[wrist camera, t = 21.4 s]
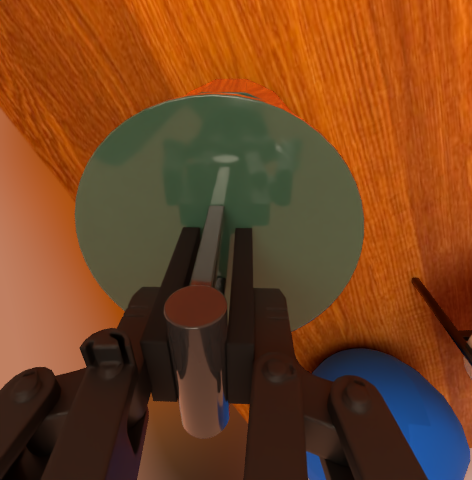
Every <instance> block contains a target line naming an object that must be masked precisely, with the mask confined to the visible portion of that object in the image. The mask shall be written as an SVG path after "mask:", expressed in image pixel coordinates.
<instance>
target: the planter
mask: <svg viewBox="0 0 472 480" xmlns="http://www.w3.org/2000/svg"><path fill="white" fill-rule="evenodd" d="M412 283H413V285H414V286H415V288H416V289H417V290H418V292H419V293H420V295H421V296H422V297H423V299H424V300H425V302H426V303H427V304H428V306H429V307H430V309H431V310H432V311H433V313H434V314H435V316H436V317H437V318H438V320H439V321H440V323H441V324H442V325H443V327H444V328H445V330H446V331H447V332H448V334H449V335H450V337H451V338H452V340H453V341H454V342H455V344H456V345H457V347H458V348H459V349H460V351H461V352H462V354H463V355H464V359H463V360H464V366H465V369H466V371H467V373H468V375H469V376H470V378H471V379H472V330H465V331H458V330H457V329H456V327H455V326H454V325H453V323H452V322H451V321H450V319H449V318H448V317H447V315H446V314H445V313H444V311H443V310H442V309H441V307H440V306H439V305H438V303H437V302H436V301H435V299H434V298H433V297H432V295H431V294H430V293H429V291H428V290H427V289H426V287H425V286H424V285H423V284H422V282H421V281H420V280H419V278H413V279H412ZM466 341H468V342H466Z"/></svg>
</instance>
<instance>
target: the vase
mask: <svg viewBox="0 0 472 480" xmlns="http://www.w3.org/2000/svg"><path fill="white" fill-rule="evenodd" d="M312 374H313V375H315V376H317V377H320V378H323V379H326V380H329V381H333V382H334V381H335V380H336V379H337V378H338V377H341V376H344V375H354V376H358V377H361V378H363V379H366V380H367V381H368V382H370V383H371V384H372V385H374V386H375V387H376V389H377V390H378V391H379V392H380V394H381V395H382V397H383V399H384V401H385V402H386V404H387V406H388V408H389V410H390V411H391V413H392V415H393V417H394V419H395V420H396V422H397V424H398V426H399V428H400V429H401V431H402V433H403V435H404V437H405V438H406V440H407V442H408V444H409V446H410V447H411V449H412V451H413V453H414V455H415V457H416V458H417V460H418V462H419V464H420V466H421V467H422V469H423V471H424V473H425V475H426V476H427V478H428V480H464V477H465V474H466V471H467V468H468V465H469V463H470V449H469V446H468V443H467V440H466V437H465V434H464V431H463V428H462V425H461V423H460V422H459V420H458V418H457V417H456V415H455V413H454V412H453V410H452V408H451V407H450V405H449V404H448V402H447V401H446V399H445V398H444V396H443V395H442V394H441V393H439V392H438V391H437V390H436V389H435V388H434V387H433V386H432V385H431V384H430V383H429V382H428V381H427V380H426V379H425V378H424V377H423V376H422V375H421V374H420V373H419V372H417V371H416V370H415V369H413V368H412V367H410V366H409V365H407V364H405V363H404V362H402V361H400V360H398V359H397V358H395V357H393V356H391V355H388V354H386V353H383V352H379V351H375V350H371V349H364V348H357V349H348V350H344V351H340V352H338V353H335V354H333V355H331V356H330V357H328V358H327V359H325V360H324V361H323V362H322V363H321V364H320V365H319V366H318V367H317V368H316V369H315V370H314V371H313V373H312ZM306 456H307V471H308V478H309V479H310V480H326V478H325V474H324V471H323V468H322V465H321V462H320V458H319V456H317V455H315V454H312V453H310V452H307V451H306Z"/></svg>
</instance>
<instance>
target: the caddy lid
mask: <svg viewBox="0 0 472 480" xmlns="http://www.w3.org/2000/svg"><path fill="white" fill-rule="evenodd" d="M75 224H76V233H77V238H78V242H79V246H80V249H81V252H82V254H83V257H84V260H85V262H86V264H87V266H88V267H89V270H90V271H91V273H92V275H93V277H94V278H95V279H96V281H97V282H98V284H99V285H100V286H101V288H102V289H103V290H104V291H105V293H106V294H107V295H108V296H109V297H110V298H111V299H112V300H113V301H114V302H115V303H116V304H117V305H118V306H120V307H121V308H122V309H123V310H124V311H125V310H126V308H128V304H129V302H130V300H131V298H132V296H133V295H134V294H135V293H136V292H137V291H138V290H139V289H140V288H141V287H161V284H162V281H163V279H164V276H165V273H166V271H167V268H168V266H169V263H170V260H171V258H172V255H173V252H174V250H175V247H176V244H177V242H178V239H179V236H180V234H181V231H182V228H183V227H198V228H200V245H199V249H198V252H197V256H196V260H195V264H194V268H193V272H192V276H191V280H190V284H189V286H186V287H183V288H181V289H179V290H177V291H175V292H174V293H172V294H171V295H170V296H169V297H168V299H167V300H166V302H165V305H164V310H163V311H164V318H165V324H166V330H167V336H168V342H169V348H170V354H171V360H172V366H173V372H174V378H175V384H176V390H177V396H178V402H179V408H180V414H181V420H182V424H183V426H184V428H185V430H186V431H187V432H188V433H189V434H191V435H192V436H194V437H197V438H202V439H204V438H210V437H213V436H215V435H217V434H219V433H220V432H221V431H222V430H223V429H224V427H225V426H226V425H227V423H228V420H229V416H230V403H228V379H227V339H228V319H229V306H230V293H231V280H232V267H233V254H234V241H235V228H252V241H253V288H275V289H280V291H281V292H282V293H283V295H284V296H285V297H286V302H287V308H288V315H289V321H290V328H291V332H292V331H294V330H296V329H298V328H300V327H302V326H303V325H305V324H307V323H309V322H310V321H311V320H313V319H314V318H316V317H317V316H319V315H320V314H321V313H322V312H323V311H324V310H326V309H327V308H328V307H329V306H330V305H331V304H332V303H333V302H334V301H335V300H336V298H337V297H338V296H339V295H340V294H341V293H342V291H343V290H344V288H345V287H346V285H347V284H348V282H349V281H350V279H351V277H352V274H353V272H354V270H355V268H356V266H357V263H358V260H359V257H360V254H361V250H362V244H363V238H364V213H363V207H362V200H361V197H360V194H359V191H358V187H357V184H356V182H355V180H354V178H353V176H352V174H351V172H350V170H349V168H348V166H347V164H346V163H345V161H344V160H343V159H342V157H341V156H340V154H339V153H338V152H337V150H336V149H335V148H334V147H333V146H332V145H331V143H330V142H329V141H328V140H327V139H326V138H325V137H324V136H323V135H322V134H321V133H320V132H319V131H318V130H316V129H315V128H314V127H312V126H311V125H310V124H308V123H307V122H306V121H305V120H303V119H302V118H300V117H299V116H297V115H295V114H293V113H291V112H289V111H288V110H286V109H284V108H282V107H280V106H277V105H275V104H272V103H269V102H267V101H264V100H261V99H258V98H253V97H248V96H244V95H239V94H229V93H216V92H213V93H199V94H189V95H185V96H180V97H176V98H171V99H168V100H165V101H162V102H160V103H157V104H155V105H152V106H150V107H147V108H146V109H144V110H142V111H140V112H139V113H137V114H135V115H133V116H132V117H130V118H128V119H126V120H125V121H124V122H123V123H122V124H120V125H119V126H118V127H117V128H115V129H114V130H113V131H112V132H110V134H109V135H108V136H107V137H106V138H105V139H104V140H103V141H102V143H101V144H100V145H99V146H98V147H97V148H96V150H95V152H94V153H93V155H92V156H91V158H90V160H89V161H88V163H87V165H86V167H85V170H84V172H83V174H82V177H81V179H80V183H79V187H78V191H77V195H76V204H75Z"/></svg>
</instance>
